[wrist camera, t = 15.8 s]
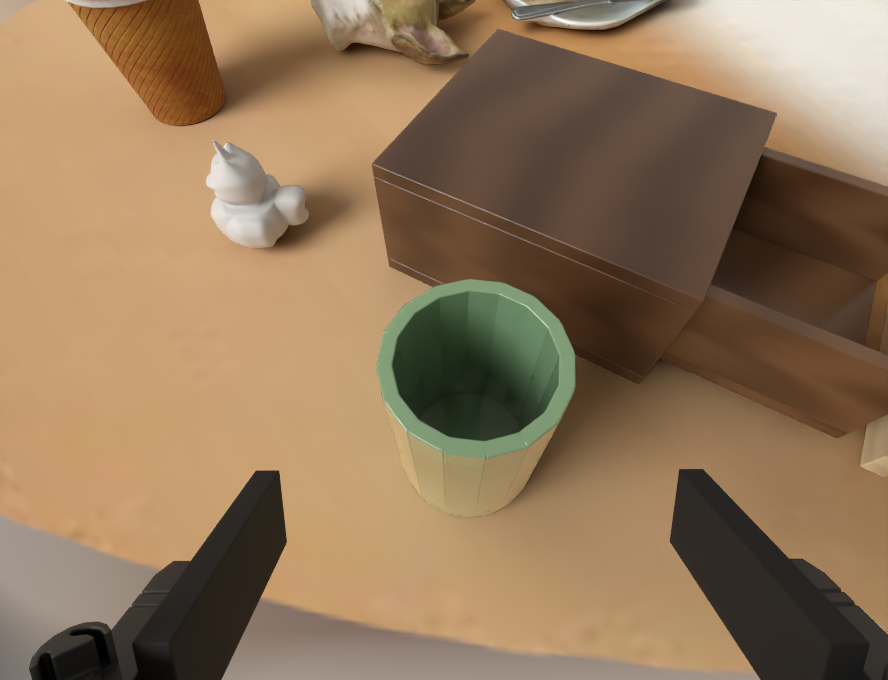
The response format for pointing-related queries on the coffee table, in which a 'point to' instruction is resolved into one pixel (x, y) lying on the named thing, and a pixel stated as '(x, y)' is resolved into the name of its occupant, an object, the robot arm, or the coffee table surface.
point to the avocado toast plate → (580, 12)
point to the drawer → (800, 302)
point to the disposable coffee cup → (159, 54)
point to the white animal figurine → (251, 199)
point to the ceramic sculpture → (393, 26)
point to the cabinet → (573, 192)
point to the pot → (474, 391)
